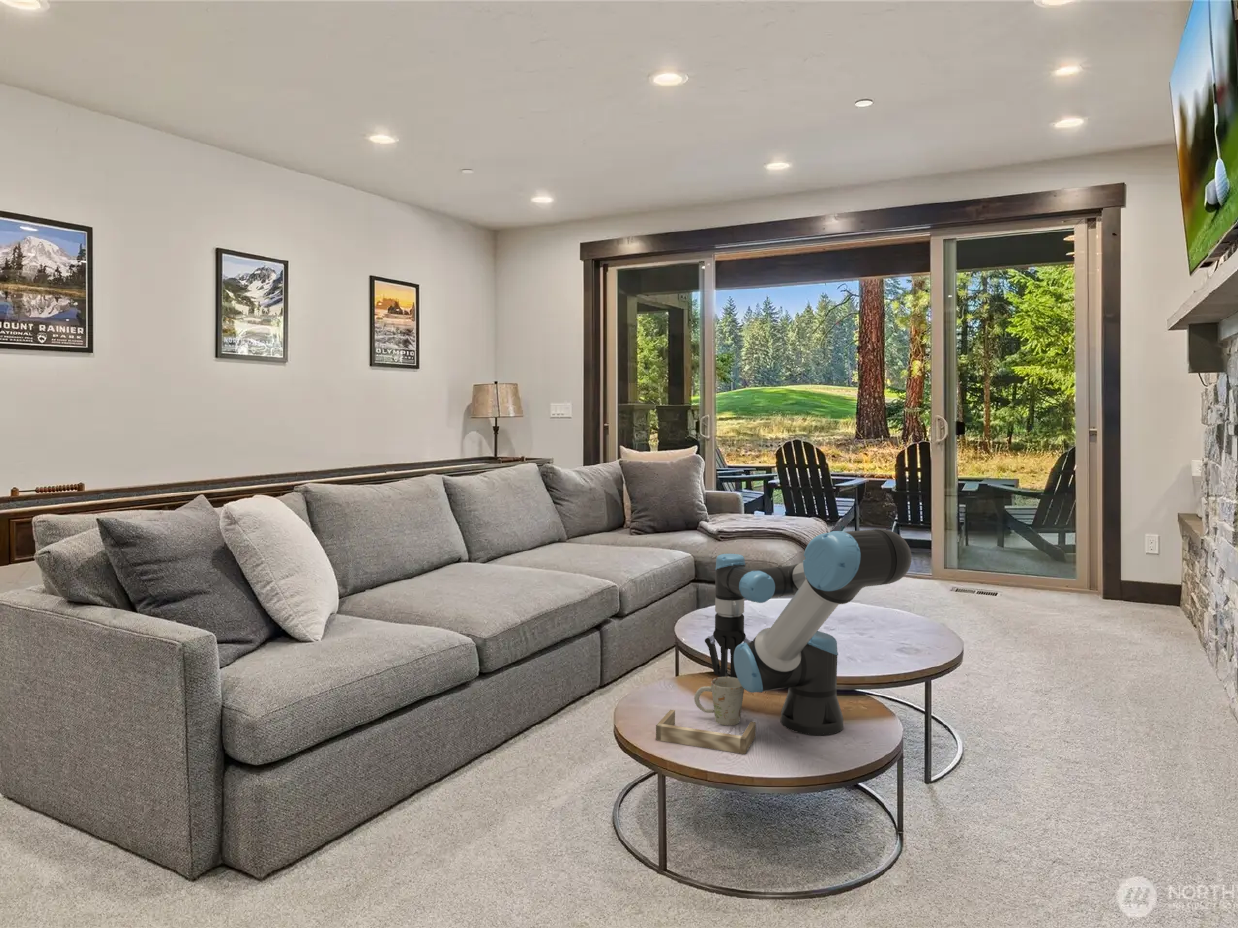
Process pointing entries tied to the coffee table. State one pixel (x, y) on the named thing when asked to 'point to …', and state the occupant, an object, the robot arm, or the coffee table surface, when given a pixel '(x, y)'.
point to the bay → (704, 736)
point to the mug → (724, 699)
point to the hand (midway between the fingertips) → (728, 701)
